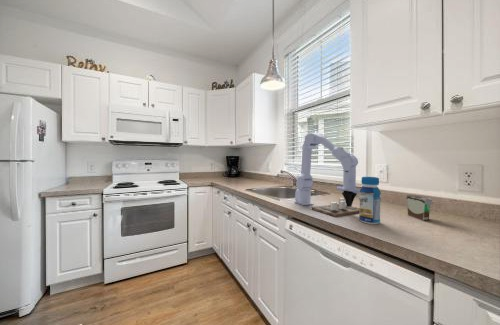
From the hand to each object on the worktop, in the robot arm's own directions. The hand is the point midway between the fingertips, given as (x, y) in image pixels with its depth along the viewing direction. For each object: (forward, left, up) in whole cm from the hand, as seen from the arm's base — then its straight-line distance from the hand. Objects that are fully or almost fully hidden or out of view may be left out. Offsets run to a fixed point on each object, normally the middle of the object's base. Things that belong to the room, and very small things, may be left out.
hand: (349, 206), depth 105 cm
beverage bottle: (+13, -3, -4) cm, 14 cm away
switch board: (-7, 0, -4) cm, 8 cm away
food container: (+20, +25, -4) cm, 32 cm away
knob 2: (-10, +6, -2) cm, 12 cm away
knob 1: (-4, -7, -2) cm, 8 cm away
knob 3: (-4, 0, -2) cm, 5 cm away
